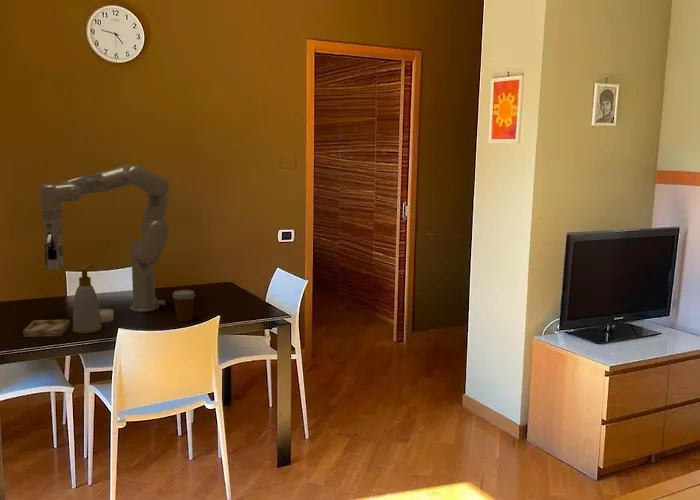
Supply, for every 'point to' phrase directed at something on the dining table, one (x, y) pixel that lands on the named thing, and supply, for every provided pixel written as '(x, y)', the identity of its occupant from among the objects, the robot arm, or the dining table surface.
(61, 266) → the syrup box
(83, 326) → the soap bottle
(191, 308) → the disposable coffee cup
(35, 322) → the tray
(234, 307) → the dining table surface
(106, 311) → the cream dome
